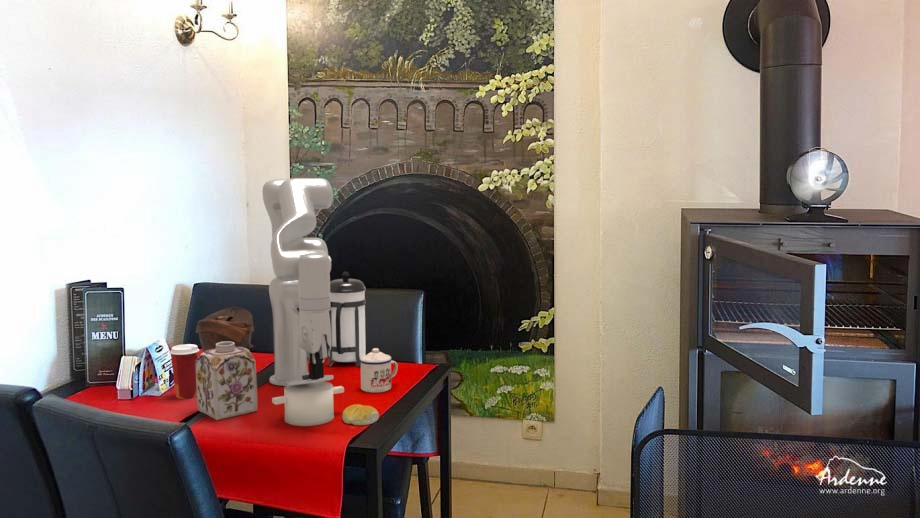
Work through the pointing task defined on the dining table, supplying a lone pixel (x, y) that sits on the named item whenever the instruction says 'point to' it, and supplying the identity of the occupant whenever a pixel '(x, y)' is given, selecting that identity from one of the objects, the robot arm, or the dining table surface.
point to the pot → (308, 403)
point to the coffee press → (347, 320)
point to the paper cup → (184, 370)
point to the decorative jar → (226, 381)
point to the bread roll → (360, 415)
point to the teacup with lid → (376, 371)
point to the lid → (306, 380)
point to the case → (226, 328)
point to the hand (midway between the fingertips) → (316, 378)
